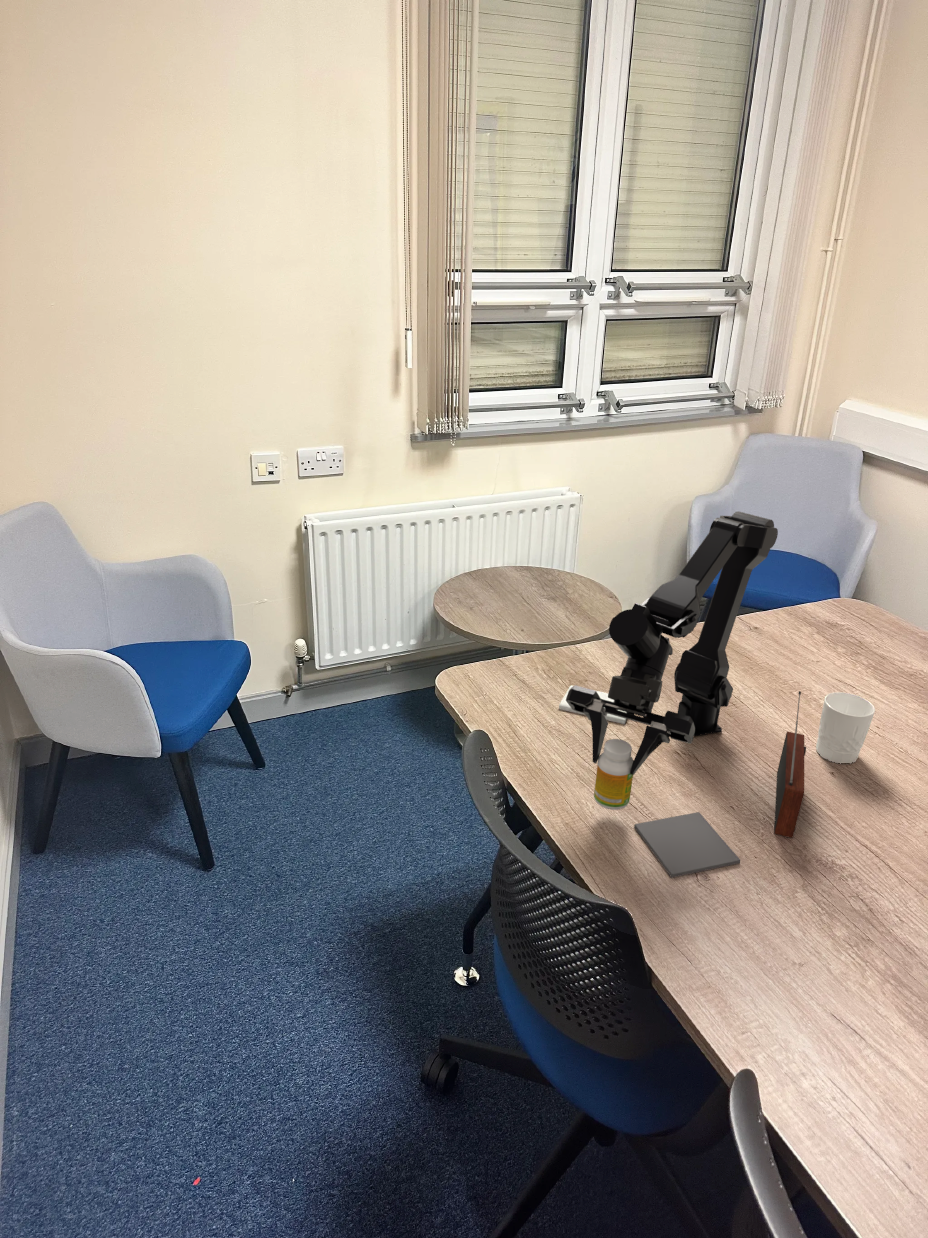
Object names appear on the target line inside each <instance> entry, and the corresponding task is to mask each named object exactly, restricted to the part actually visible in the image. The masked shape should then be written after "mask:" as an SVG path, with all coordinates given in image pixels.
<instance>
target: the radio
mask: <svg viewBox="0 0 928 1238" xmlns="http://www.w3.org/2000/svg"><path fill="white" fill-rule="evenodd" d="M801 695H802V691H800V690H799V691H798V702H797V712H796V713H797V714H796V720H795V721H796V722H795V730H794V732H792V731H786V733H785V736H784V741H783V746H782V749H781V755H780V759H779V763H778V766H777V771H776V787H775V802H774V803H775V805H774V806H775V807H774V822H773V823H774V824H773V825H774V827H773V834H774V835H777V836H782V837H786V838H791V839H793V838H794V835H795V831H796V827H797V823H798V820H799V815H800V813H801V812H800V811H801V809H802V808H801V807H802V803H803V800H804V795H805V756H806V752H807V746H805V743H806V742H805V734H803V733H798V724H799V723H798V720H799V710H800V701H801V700H800V699H801Z"/></svg>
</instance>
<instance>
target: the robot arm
mask: <svg viewBox="0 0 928 1238" xmlns="http://www.w3.org/2000/svg"><path fill="white" fill-rule="evenodd" d="M778 534H779V529H778V528H777V527H775V524H774V520H772V519H769V518H765V517H762V516H759V515H754V514H750V513H745V512H742V511H735V512H734V513H733V514H732V515H720V516H719V517H716V518H714V519H713V521H712V522H711V525H710V527H709V532H708V534H706V536H705V537H704V539H703V541H702V542H701V543H700V544H699V546H698V547H697V549H696V550H695V552H694V553H693V554H692V555H691V557H690V558H689V560H688V561H687V563H686V564H685V565H684V567H683V568H682V569H681V570H680V572H679V574H678V575H677V576H676V577H675V578H674V579H672V580H670V581H667V582H664V583H663V584H661V585H660V586H659V587H657V589H655V591H654V592H653V593H652V594H651V596H650V597H648V598H647V599H645V600H644V601H643V602H642V603H637V602H635V603H634V604H633V606H632V608H631V609H625V610H622V611H621V612H619V613H617V614H616V615H615V616H613V618H612V619H611V620H610V623H609V626H608V633H609V634H608V635H609V636H610V638H611V640H612V641H613V642H614V643H615V644H616V645H617V646H618V648H619V649H620V650H621V651H622V652H623V653H624V655H625V656H627V660H626V663H625V666H623V669H622V670H621V673H620V675H613V676H612V677H611V681H610V686H609V690H608V692H607V693H608V698H610V699H612V700H614V702H611V701H607V700H603V699H601V698H600V697H599V695H598V693H597V692H596V691H597V690H595V691H594V689H590V688H586V687H583V686H581V685H580V686H579V685H577V684H574V685H572V686H573V687H572V688H571V689H570V690H569V692H568V695H567V698H566V701H567V703H568V704H569V706H570V707H571V708H572V709H573V710H575V711H577V712H581V713H584V714H585V715H584V716H586V718H587V719H588V720H589V721H590V726H591V731H592V736H591V737H592V763H593V764H596V765H597V763H598V758H599V756H600V755H601V754H602V748H603V744H604V740H605V737H606V733H607V729H608V725H609V722H608V720H606V719H605V716H607V713H608V714H611V715H615V716H618V717H622V718H625V719H627V720H630V721H633V722H636V723H640V724H644V725H646V727H645V730H644V734H643V738H642V740H641V743H640V745H639V748H638V750H637V752H636V755H635V757H634V758H633V760H634V761H633V764H632V768H631V771H630V774H631V775H633V776H634V775H635V774H636V773H637V771H638V770H639V769H640V767H641V766H642V765H643V764H644V763H645V761H646V760H647V759H648V757H650V755H652V753H654V752H655V751H656V750H657V748H659V746H661V744H663V743H665V744H670V742H671V740H670V739H672V740H675V741H678V742H683V743H686V744H692V743H693V739H694V737H696V736H704V735H709V734H710V735H711V734H715V733H721V732H722V731H723V728H722V727H721V725H719V724H718V723H719V717H720V712H721V707H723V708H724V707H725V708H726V707H728V706H729V703H730V700H731V698H732V696H733V691H734V687H733V686H732V684H731V683H730V682H731V681H729V679H728V675H729V671H730V664H729V660H728V656H727V651H726V649H727V646H728V642H729V639H730V636H731V634H732V632H733V631H732V630H733V628H734V625H735V622H736V619H737V616H738V613H739V611H740V610H739V609H740V607H741V604H742V601H743V598H744V595H745V592H746V589H747V586H748V584H749V581H750V578H751V575H752V571H753V570H754V569H755V568H756V567H758V565H760V564H761V563H762V562H763V561H764V560H766V559H767V558H768V556H769V554H770V551H771V549H772V548H773V547H774V546H775V544H776V541H777V539H778ZM718 575H719V577H718V580H717V581H716V582H717V584H716V586H715V589H714V591H713V594H712V597H711V601H710V604H709V606H708V607H709V608H708V610H707V613H706V616H705V619H704V622H703V626H702V627H701V631H700V634H699V638H698V640H697V642H696V643H695V644H694V645H692V647H689V649H685V650H684V651H683V652H682V653H681V657H680V660H679V663H678V664H677V665H676V668H675V670H674V677H673V678H674V690H675V692H676V693H679V694H681V701H679V703H678V707H677V712H675V711H671V710H666V712H665V714H664V715H661V714H657V713H653V712H652V711H653V707H654V704H655V703H659V701H660V698H661V694H662V688H663V680H662V679H663V675H664V673H665V669H666V666H667V663H668V659H669V656H672V655H673V654H674V653H673V652H674V651H673V647H672V644H671V643H670V638H669V637H672V638H675V639H681V638H686V637H687V636H688V635H690V633H692V632H693V631H694V630H695V628H696V627H697V626H698V619H699V617H700V616H701V603H700V602H701V600H702V598H703V596H704V595H705V593H706V592H707V591H708V589H709V587H711V584H712V583H713V582H714V580H716V578H717V576H718ZM662 634H664V635H666V636H664V635H662ZM667 636H669V637H667ZM618 710H620V711H618ZM621 710H622V711H621ZM623 711H625V712H626V713H625V712H623Z"/></svg>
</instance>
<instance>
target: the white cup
mask: <svg viewBox="0 0 928 1238" xmlns="http://www.w3.org/2000/svg"><path fill="white" fill-rule="evenodd" d="M823 699H824V700H823V704H822V711H821V715H820V721H819V727H818V732H817V740H816V743H815V744H816V746H815V749H816V752H818V753H819V754H820V757H821V758H823V759H825V760H827V759H828V760H827V761H829V762H831V761H832V762H831V763H834V762H835V764H838V763H840V764H839V765H842V764H841V763H850V764H853V763H855V762H856V761H857V760H858V758H859V756H860V752H861V749H862V748H863V746H864V743H865V740H866V738H867V735H868V732H869V730H870V726H871V723H872V721H873V718H874V715H875V713H876V708H875V706H874V704H873V703H872V702H870V701H869V700H868V699H866V698H864V697H863V696H860V695H857V694H854V693H850V692H849V693H848V692H844V691H842V692H841V691H836V692H830V693H828V694H826V695H825V697H824V698H823ZM818 753H817V754H818ZM819 754H818V755H819ZM852 762H853V763H852Z"/></svg>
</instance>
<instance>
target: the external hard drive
mask: <svg viewBox="0 0 928 1238" xmlns="http://www.w3.org/2000/svg"><path fill="white" fill-rule="evenodd" d="M573 686H574V685H569V687H568V689H567V691H566V692H565V694H564V696H563V697H562V698H561V701H560V702H559V703H558V709H559V710H561V711H567V712H571V713H574V714H579V715H582V716H586V715H585V714H584V713H581V712H577V711H575V710H573V709H572V708H571V707H570V706H569V704H568V703H567V701H566V698H567V695H568V692H569V690H570V689H571V688H572V687H573ZM593 690H594V689H593ZM594 691H596V692H597V693H598V695H599V697H600V698H601V699H603V700H607V701H611V702H614V700H612V699H610V698H608V693H609V692H603V691H599V690H594ZM618 711H620V710H618ZM621 711H622V710H621ZM623 712H625V711H623ZM625 713H626V712H625ZM605 719H606V720H607V722H608V721H610V722H614V723H618V724H622V725H626V723H627V720H628V719H625V718H622V717H618V716H615V715H611V714H608V713H607V716H605Z"/></svg>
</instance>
